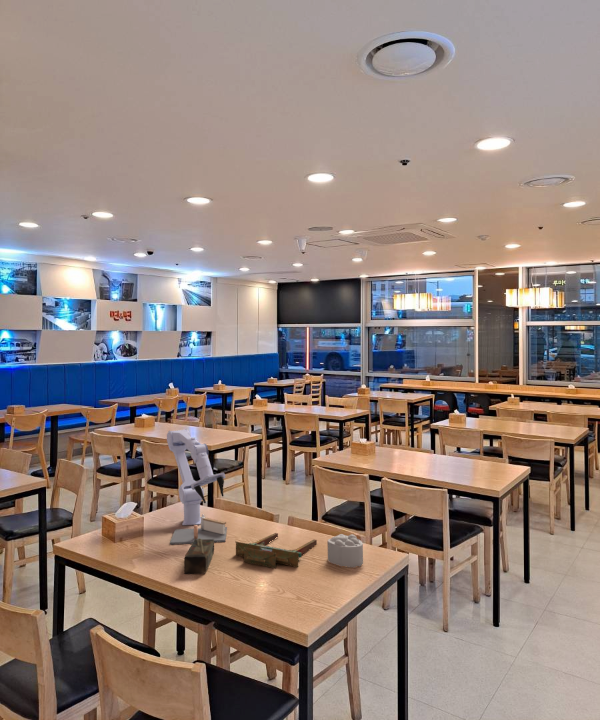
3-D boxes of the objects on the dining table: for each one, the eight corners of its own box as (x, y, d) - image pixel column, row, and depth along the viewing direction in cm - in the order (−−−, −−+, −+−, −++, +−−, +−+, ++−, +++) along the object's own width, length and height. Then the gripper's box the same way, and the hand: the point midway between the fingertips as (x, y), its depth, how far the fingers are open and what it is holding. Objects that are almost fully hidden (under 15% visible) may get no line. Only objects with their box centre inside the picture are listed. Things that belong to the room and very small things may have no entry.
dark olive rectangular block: (215, 554, 206) (214, 536, 206) (206, 575, 187) (206, 556, 187) (194, 554, 206) (193, 537, 206) (183, 575, 187) (182, 556, 187)
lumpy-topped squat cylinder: (342, 552, 205) (342, 529, 205) (370, 561, 196) (369, 537, 196) (324, 560, 198) (323, 536, 198) (351, 570, 188) (351, 545, 188)
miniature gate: (325, 537, 212) (288, 558, 186) (325, 551, 212) (288, 574, 186) (266, 527, 225) (224, 546, 198) (266, 541, 225) (224, 561, 198)
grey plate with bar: (175, 531, 232) (174, 515, 232) (227, 528, 234) (226, 513, 234) (169, 544, 217) (169, 527, 216) (225, 541, 219) (225, 525, 218)
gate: (200, 529, 231) (199, 517, 231) (203, 527, 233) (202, 516, 233) (223, 534, 224) (223, 522, 224) (226, 533, 225) (226, 521, 225)
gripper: (186, 472, 226) (194, 502, 219) (219, 460, 228) (229, 489, 221) (189, 478, 232) (198, 507, 225) (222, 466, 234) (231, 495, 227)
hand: (213, 499), depth 223 cm, fingers open, 7 cm apart
